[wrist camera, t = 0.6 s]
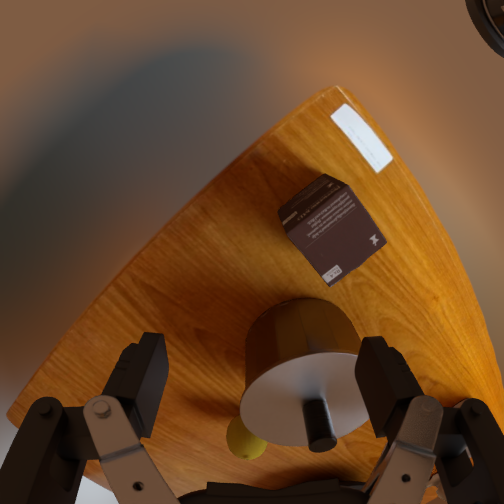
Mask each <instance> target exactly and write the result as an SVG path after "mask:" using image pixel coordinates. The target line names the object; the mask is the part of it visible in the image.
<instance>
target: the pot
mask: <svg viewBox="0 0 504 504" xmlns="http://www.w3.org/2000/svg"><path fill="white" fill-rule="evenodd" d="M361 343H362V342H361V340H360V338H359V336H358V334H357V332H356V330H355V328H354V326H353V324H352V322H351V320H350V319H349V318H348V317H347V316H346V314H345V313H344V312H343V311H342V310H341V309H340V308H339V307H337V306H336V305H334V304H332V303H330V302H327V301H324V300H321V299H315V298H298V299H292V300H288V301H285V302H282V303H280V304H277V305H275V306H273V307H272V308H270V309H268V310H267V311H265V312H264V313H263V314H262V315H261V316H260V317H258V319H257V320H256V321H255V322H254V323H253V325H252V327H251V328H250V330H249V332H248V335H247V338H246V351H245V388H246V387H247V386H248V384H249V383H250V382H251V381H252V380H253V379H254V378H255V377H256V376H257V375H258V374H259V373H260V372H262V371H263V370H264V369H266V368H267V367H269V366H271V365H272V364H274V363H276V362H278V361H280V360H282V359H285V358H287V357H290V356H293V355H296V354H300V353H303V352H308V351H313V350H322V349H341V350H349V351H353V352H357V353H359V350H360V347H361Z"/></svg>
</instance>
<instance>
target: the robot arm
mask: <svg viewBox="0 0 504 504" xmlns="http://www.w3.org/2000/svg"><path fill="white" fill-rule="evenodd" d="M481 4H482V7H483V10H484V13H485V15H486V17H487V19H488V21H489V23H490V25H491V26H492V28H493V29H494V31H495V32H496V33H497V35H498V36H499V37H500V38H501V39H502V40H503V41H504V0H481ZM168 371H169V363H168V357H167V351H166V345H165V339H164V335H163V334H161V333H150V332H144V333H143V335H142V337H141V339H140V341H139V344H136V343H131V344H130V345H129V346H128V347H127V348H125V349H124V350H123V352H122V354H121V355H120V357H119V361H117V363H116V365H115V369H113V371H112V373H111V375H110V377H109V380H108V382H107V384H106V386H105V388H104V390H103V392H102V394H101V395H99V396H96V397H93V398H91V399H90V400H89V401H88V402H87V403H86V404H85V406H81V407H63V406H62V404H61V403H60V401H59V400H57V399H56V398H53V397H42V398H40V399H38V400H36V401H35V402H34V403H33V404H32V405H31V407H30V409H29V411H28V413H27V414H26V416H25V418H24V420H23V422H22V424H21V426H20V428H19V430H18V432H17V434H16V436H15V438H14V440H13V442H12V445H11V447H10V449H9V451H8V453H7V455H6V458H5V460H4V462H3V464H2V467H1V469H0V504H75V501H76V497H77V493H78V490H79V486H80V482H81V479H82V476H83V472H84V469H85V466H86V462H87V460H97V459H99V462H100V465H101V467H102V469H103V472H104V474H105V476H106V478H107V480H108V483H109V485H110V487H111V489H112V491H113V493H114V495H115V497H116V499H117V501H118V503H119V504H420V503H421V500H422V498H423V495H424V493H425V490H426V487H427V484H428V482H429V479H430V476H431V473H432V470H433V467H434V463H435V466H436V469H437V472H438V475H439V478H440V481H441V484H442V487H443V490H444V493H445V496H446V500H447V503H448V504H504V435H503V433H502V431H501V429H500V428H499V426H498V424H497V422H496V420H495V418H494V417H493V415H492V413H491V411H490V410H489V408H488V406H487V405H486V404H485V403H484V402H483V401H481V400H479V399H475V398H470V399H467V400H465V401H464V402H463V403H462V405H461V406H460V408H451V407H442V405H441V404H440V402H439V401H438V400H436V399H435V398H433V397H431V396H427V395H424V393H423V391H422V389H421V387H420V386H419V384H418V382H417V380H416V378H415V377H414V375H413V373H412V371H410V368H409V366H408V364H406V361H405V359H404V357H403V356H402V354H401V353H400V352H398V351H397V350H396V349H395V348H394V347H388V345H387V343H386V341H385V340H384V338H383V337H382V336H374V337H364V338H363V340H362V343H361V347H360V350H359V354H358V357H357V360H356V364H355V370H354V372H355V379H356V382H357V384H358V387H359V390H360V393H361V395H362V398H363V401H364V404H365V407H366V409H367V412H368V415H369V418H370V421H371V424H372V427H373V429H374V432H375V435H376V438H380V437H385V436H386V437H387V440H388V442H387V443H386V445H385V447H384V449H383V451H382V453H381V456H380V458H379V460H378V462H377V464H376V466H375V467H374V469H373V471H372V473H371V475H370V477H369V479H368V480H367V482H366V484H365V485H364V486H363V488H362V490H361V491H360V490H357V489H354V488H351V487H345V486H340V485H339V480H338V478H337V479H329V480H320V481H310V482H305V483H301V484H298V485H294V486H291V487H287V488H283V489H279V490H268V489H263V488H258V487H253V486H248V485H244V484H238V483H217V482H207V489H203V490H198V491H193V492H190V493H187V494H185V495H183V496H180V497H179V498H176V496H175V495H174V494H173V492H172V491H171V489H170V488H169V486H168V485H167V483H166V482H165V480H164V479H163V477H162V475H161V474H160V472H159V471H158V469H157V468H156V466H155V464H154V463H153V461H152V459H151V458H150V456H149V454H148V453H147V451H146V449H145V448H144V446H143V445H142V444H141V442H140V438H141V437H145V438H150V437H151V433H152V429H153V426H154V422H155V418H156V415H157V411H158V408H159V404H160V401H161V397H162V394H163V391H164V387H165V384H166V380H167V377H168ZM466 447H468V450H469V452H470V454H471V457H472V459H473V462H474V467H473V466H472V463H471V461H470V458H469V456H468V454H467V451H466V449H465V448H466Z"/></svg>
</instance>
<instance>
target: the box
mask: <svg viewBox="0 0 504 504" xmlns="http://www.w3.org/2000/svg"><path fill="white" fill-rule="evenodd" d="M277 213H278V215H279V218H280V220H281V222H282V225H283V227H284V229H285V232H286V234H287V236H288V237H289V238H290V240H291V241H292V242H293V243H294V245H295V246H296V247H297V248H298V249H299V250H300V252H301V253H302V254H303V255H304V256H305V258H306V259H307V260H308V261H309V263H310V264H311V265H312V266H313V267H314V269H315V270H316V271H317V272H318V273H319V275H320V276H321V277H322V279H323V280H324V281H325V282H326V284H327V285H328V286H329V287H331V286H333V285H334V284H335V283H337V282H338V281H339V280H341V279H342V278H343V277H344V276H346V275H347V274H348V273H350V272H351V271H352V270H354V269H356V268H358V267H359V266H360V265H362V264H363V263H364V262H365V261H366V259H367V258H369V257H370V256H371V255H372V254H374V253H375V252H376V251H378V250H379V249H380V248H381V247H383V246H384V245H385V244H386V243H387V241H386V239H385V238H384V236H383V235H382V233H381V232H380V230H379V228H378V227H377V226H376V224H375V222H374V221H373V219H372V218H371V216H370V215H369V213H368V212H367V210H366V209H365V208H364V206H363V205H362V203H361V202H360V201H359V199H358V198H357V196H356V195H355V194H354V192H353V191H352V189H351V188H350V187H349V185H348V184H345V183H344V182H342V181H340V180H337V179H335V178H334V177H331V176H329V175H327V174H323V175H321V176H320V177H319V178H317V179H316V180H315V181H313V182H312V183H311V184H310V185H308V186H307V187H306V188H304V189H303V190H302V191H301V192H299V193H298V194H297V195H296V196H294V197H293V198H292V199H291V200H290V201H288V202H287V203H286V204H285V205H284V206H282V207H281V208H280V209H279V210H278V211H277Z"/></svg>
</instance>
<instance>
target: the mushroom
mask: <svg viewBox="0 0 504 504" xmlns="http://www.w3.org/2000/svg"><path fill="white" fill-rule="evenodd" d="M430 486H436V487H437V488H438V490H437V491H436V492H437V494H438V496H439V497H440V498H441V499H443V500H445V501H447V500H446V496H445V493H444V490H443V487H442V484H441V481H440V478H439V475H438V473H437V474H436V475H433V477H432V479H431V480H430V481H429V482H428V484H427V487H430ZM427 487H426V488H427Z"/></svg>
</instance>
